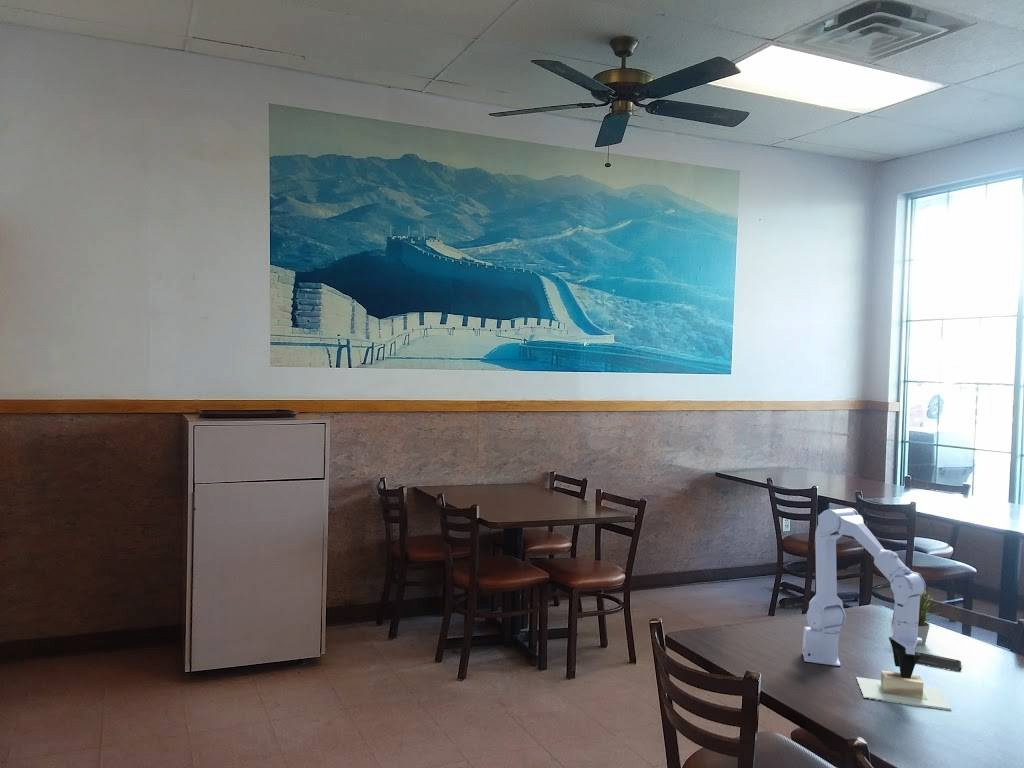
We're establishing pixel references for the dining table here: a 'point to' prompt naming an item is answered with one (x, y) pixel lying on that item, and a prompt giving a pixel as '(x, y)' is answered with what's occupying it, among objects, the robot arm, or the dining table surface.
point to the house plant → (923, 619)
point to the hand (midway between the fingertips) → (902, 672)
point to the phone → (939, 662)
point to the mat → (930, 696)
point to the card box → (901, 684)
